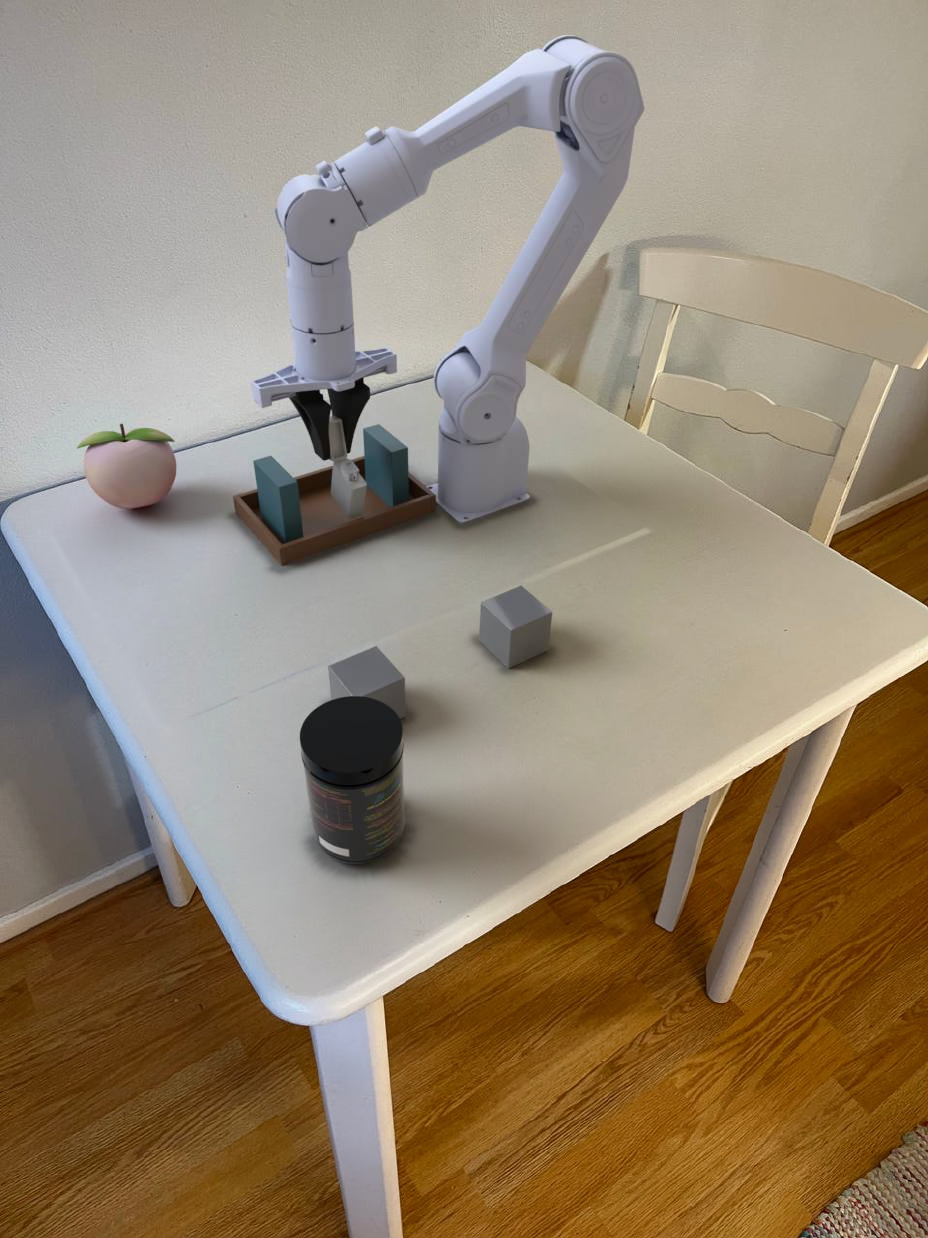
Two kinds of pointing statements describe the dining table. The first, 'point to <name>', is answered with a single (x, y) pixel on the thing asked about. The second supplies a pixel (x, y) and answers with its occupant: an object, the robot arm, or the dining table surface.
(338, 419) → the lighter
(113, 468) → the decorative fruit
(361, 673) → the grey cube
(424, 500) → the tray
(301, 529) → the slab
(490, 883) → the dining table surface
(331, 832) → the supplement container
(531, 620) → the grey cube
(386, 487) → the slab
